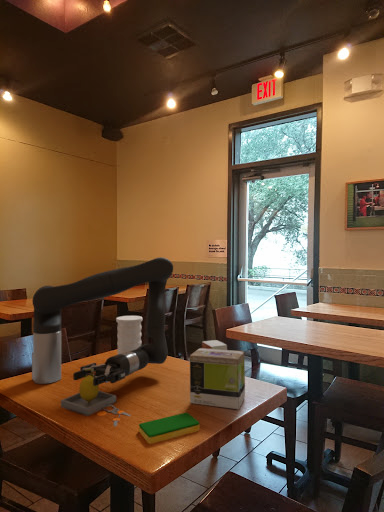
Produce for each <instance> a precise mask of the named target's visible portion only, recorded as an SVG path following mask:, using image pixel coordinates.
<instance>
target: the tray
mask: <svg viewBox="0 0 384 512" xmlns="http://www.w3.org/2000/svg"><path fill="white" fill-rule="evenodd" d="M115 403H117V395H116V394H112V393H107V392H106V391H105V392H104V391H101V390H99V391H98V395H97V396H96V398H95V399H93V400H92V401H91V402H87V401H85V400H83V399H82V398H81V396H80V392H78V393H75V394H73V395H70V396H68V397H65V398H63V399H61V400H60V407H61V408H63V409H64V410H65V409H66V410H67V411H71V412H75V413H77V414H81V415H83V416H85V417H89V416H91V415H93V414H95V413H98V412H100V411H101V410H103V409H102V408H104V409H106V408H108V407H109V406H108V405H113V404H115ZM107 406H108V407H107Z"/></svg>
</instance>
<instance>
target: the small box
mask: <svg viewBox="0 0 384 512" xmlns="http://www.w3.org/2000/svg"><path fill="white" fill-rule="evenodd" d="M201 348H206V349H220V350H228V345H227V344H226V343H224V342H222V341H220V340H217V339H215V340H212V339H211V340H204V341H203V340H202V342H201Z"/></svg>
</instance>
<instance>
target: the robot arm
mask: <svg viewBox="0 0 384 512" xmlns="http://www.w3.org/2000/svg"><path fill="white" fill-rule="evenodd" d="M173 272H174V264H173V263H172V262H171V260H169V259H168V258H165V257H161V256H160V257H156V258H153V259H150V260H148V261H145V262H142V263H139V264H137V265H133V266H132V265H131V266H127V267H126V266H125V267H120V268H116V269H112V270H107V271H103V272H98V273H95V274H92V275H90V276H89V275H88V276H87V277H84V278H82V279H80V280H77V281H74V282H72V283H68V284H63V285H62V284H61V285H58V286H57V285H55V286H52V285H44V286H41V287H39V288H38V289H37V290H36V291H35V293H33V296H32V300H31V301H32V306H33V323H32V333H33V335H32V338H33V339H32V340H33V341H32V342H33V343H32V345H33V346H32V347H33V350H32V351H33V352H32V353H31V371H32V372H31V380H33V383H35V384H37V385H38V384H39V385H43V384H52V383H55V382H58V381H60V380H62V309H64V308H66V307H70V306H72V305H75V304H79V303H84V302H90V301H95V300H99V299H103V298H108V297H112V296H115V295H117V294H118V295H119V294H121V293H123V292H125V291H128V290H130V289H132V288H134V287H137V286H138V285H142V284H145V283H148V284H147V285H148V303H147V313H146V321H145V322H146V324H145V335H146V336H147V337H149V338H152V339H153V343H144V344H141V346H140V347H138V348H137V349H136V350H132V351H129V352H124V353H121V354H118V353H117V354H115V355H112V356H109V357H107V358H106V360H105V362H104V363H100V364H97V363H96V362H93V363H89V364H86V365H84V366H83V365H82V366H80V369H79V370H78V371H75V372H73V373H72V376H73V377H72V378H73V380H74V381H78V380H81V379H84V378H85V377H87V376H88V375H90V376H92V377H94V379H93V385H94V386H97V385H102V384H108V383H109V382H110V384H114V383H117V382H120V381H122V380H123V379H125V378H126V377H128V376H130V375H133V374H134V373H135V372H137V371H140V370H142V369H144V368H146V367H147V366H148V364H154V365H161V364H164V363H165V362H166V360H167V359H168V355H169V351H168V345H167V339H166V335H165V329H166V328H165V326H166V305H165V304H166V303H165V292H166V286H167V281H168V279H170V277H172V274H173Z"/></svg>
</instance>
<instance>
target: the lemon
mask: <svg viewBox="0 0 384 512" xmlns="http://www.w3.org/2000/svg"><path fill="white" fill-rule="evenodd" d="M93 379H94V377H92V376H90V375H88V376H87V377H84V378H82V380H81V382H80V383H79V392H78V393H80V396H81V398H82V399H83V400H85V401H87V402H91V401H92V400H93V399H95V398H96V396H97V395H98V391H100V390H99V389H100V388H99V385H100V384H99V385H97V386H94V385H93Z"/></svg>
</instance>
